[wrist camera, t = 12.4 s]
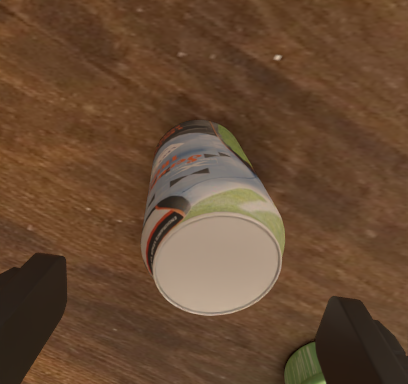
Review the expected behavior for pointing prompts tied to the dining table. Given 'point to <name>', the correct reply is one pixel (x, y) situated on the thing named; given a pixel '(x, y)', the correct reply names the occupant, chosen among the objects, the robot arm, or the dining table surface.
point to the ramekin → (304, 367)
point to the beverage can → (209, 223)
